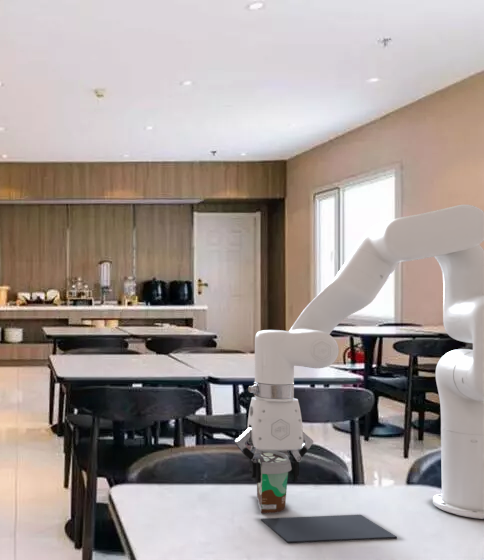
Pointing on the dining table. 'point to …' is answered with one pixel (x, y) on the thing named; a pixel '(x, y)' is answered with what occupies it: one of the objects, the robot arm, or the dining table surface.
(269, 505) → the food container
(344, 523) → the mat
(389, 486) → the dining table surface
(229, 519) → the dining table surface
